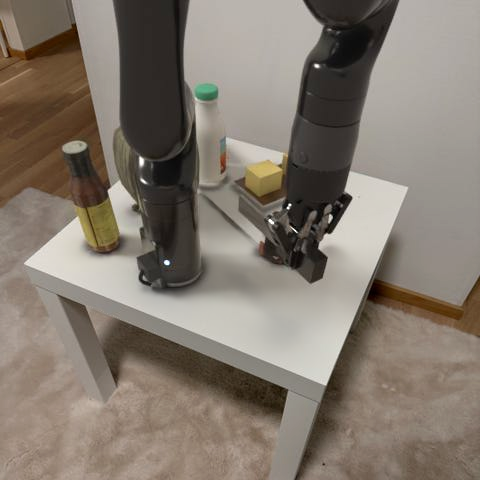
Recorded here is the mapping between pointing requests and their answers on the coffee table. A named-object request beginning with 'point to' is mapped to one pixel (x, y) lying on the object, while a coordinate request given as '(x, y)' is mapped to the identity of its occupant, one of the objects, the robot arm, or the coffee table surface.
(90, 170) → the sauce bottle
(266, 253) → the pottery mug
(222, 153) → the milk bottle
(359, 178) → the coffee table surface
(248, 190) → the butter board
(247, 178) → the butter stick
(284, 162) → the butter slice
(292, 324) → the coffee table surface
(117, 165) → the tabletop clock
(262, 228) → the knife
